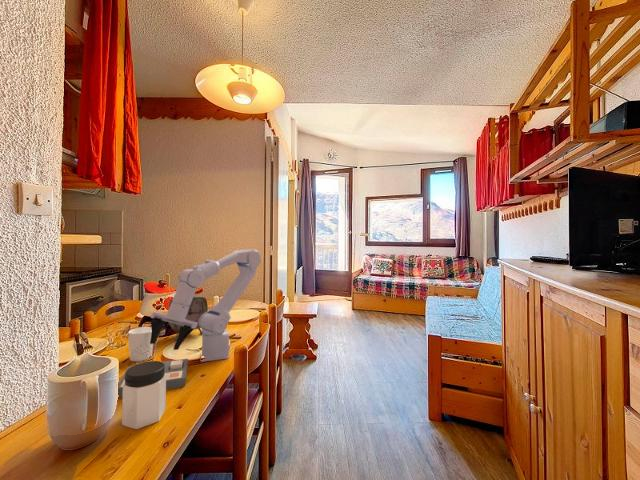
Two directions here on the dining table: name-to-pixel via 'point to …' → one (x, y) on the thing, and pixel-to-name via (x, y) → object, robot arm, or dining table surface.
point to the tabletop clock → (192, 313)
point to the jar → (144, 394)
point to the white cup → (140, 343)
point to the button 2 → (176, 364)
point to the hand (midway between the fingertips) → (164, 346)
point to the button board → (173, 377)
